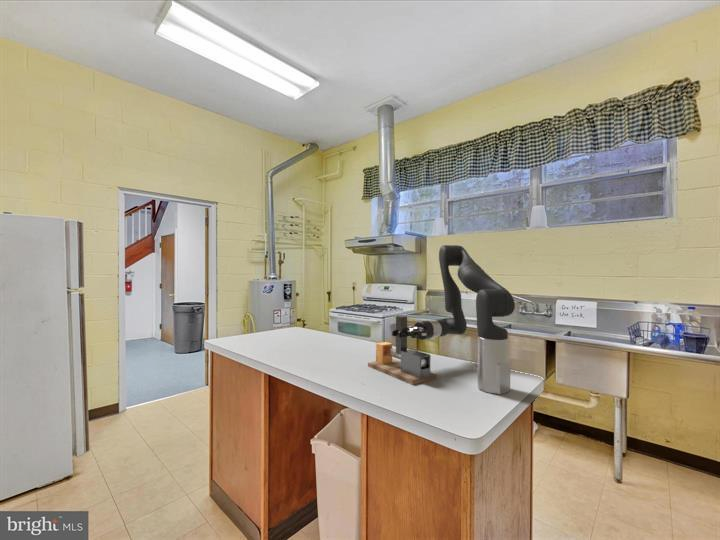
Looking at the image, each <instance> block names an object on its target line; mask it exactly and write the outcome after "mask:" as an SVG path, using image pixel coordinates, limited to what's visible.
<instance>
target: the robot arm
mask: <svg viewBox="0 0 720 540" xmlns="http://www.w3.org/2000/svg"><path fill="white" fill-rule="evenodd" d="M438 260H439V261H438V262H439V267H440V274H441V279H442V285H443V291H444V308H445V312H447V313H451V314H452V317H446V318H441V319H429V320H427V319H426V320H421V321H420V320H419V321H417V322H415V323H414V325H409V326H407V331H401V332H398V337H399V338H403V337H407V339H410V338H411V339H417V340H419V341H426V340H432V339H436V338H440V337H445V336H447V335H463V334H465V332H466V331H467V327H468V326H467V321H466V318H465V314H464V311H463V308H462V294H461V289H460V288H459V286H458V285H457V283H456V282H455V280H454V279H453V277H452V275H451V272H450V268H449V267H450V266H452V267H454V266H455V267H456V266H457V267H458V269H457V277H458V279H459V281H460V282H461V284H463V286H464V287H465V288H466V289H468V290H470V291H471V292H474V293H476V298H475V309H476V310H475V311H476V329H477V388H478V389H479V390H481V391H482V392H486V393H488V394H489V393H490V394H495V395H496V394H497V395H504V394H505V393H509V392H510V391H511V362H510V361H508V356H509V355H508V353H509V352H508V351H509V350H508V347H509V345H508V344H509V343H508V341H509V339H508V338H509V334H508V333H509V332H508V330H507V329H506V328H504V327H501V326H498V325H497V324H495V323H494V322H493V318H499V317H500V318H501V317H503V318H504V317H508V316H510V315H512V314H513V313H514V311H515V308H516V307H515V306H516V305H515V304H516V303H515V300H514V298H513V295H512V294H511V292H510V291H509V290H508V289H506V288H505V287H504V286H502V285H501V284H499V283H498V282H497V281H495V280H494V279H493V278H492V277H491V276H490V275H489V274H488V273H487V272H486V271H485V270H484V269H483V268H482V267H481V266H480V265H479V264H478V263H476V262H475V261H474V259H473V258H472V257H471V256H470V254H469V253H468V251H467V249H465V248H464V246H462V245H459V244H457V245H455V244H454V245H453V244H452V245H451V244H448V245H447V244H445V245H441V246H440V248H439V251H438ZM391 336H392V337H396V329H393V330H391Z"/></svg>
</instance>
